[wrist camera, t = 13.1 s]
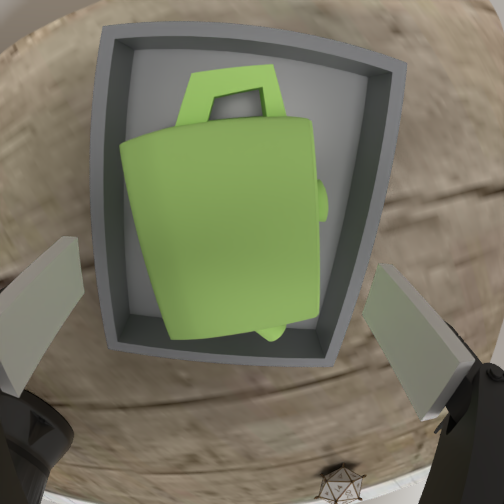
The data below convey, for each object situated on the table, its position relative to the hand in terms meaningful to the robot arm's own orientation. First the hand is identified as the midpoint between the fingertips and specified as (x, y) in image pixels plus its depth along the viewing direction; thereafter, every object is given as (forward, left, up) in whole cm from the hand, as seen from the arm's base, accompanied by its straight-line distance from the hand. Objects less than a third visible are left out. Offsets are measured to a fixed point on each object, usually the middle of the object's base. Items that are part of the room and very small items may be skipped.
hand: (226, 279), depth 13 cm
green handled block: (+1, 0, -11) cm, 11 cm away
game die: (+22, -45, -12) cm, 52 cm away
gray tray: (0, 0, -12) cm, 12 cm away
